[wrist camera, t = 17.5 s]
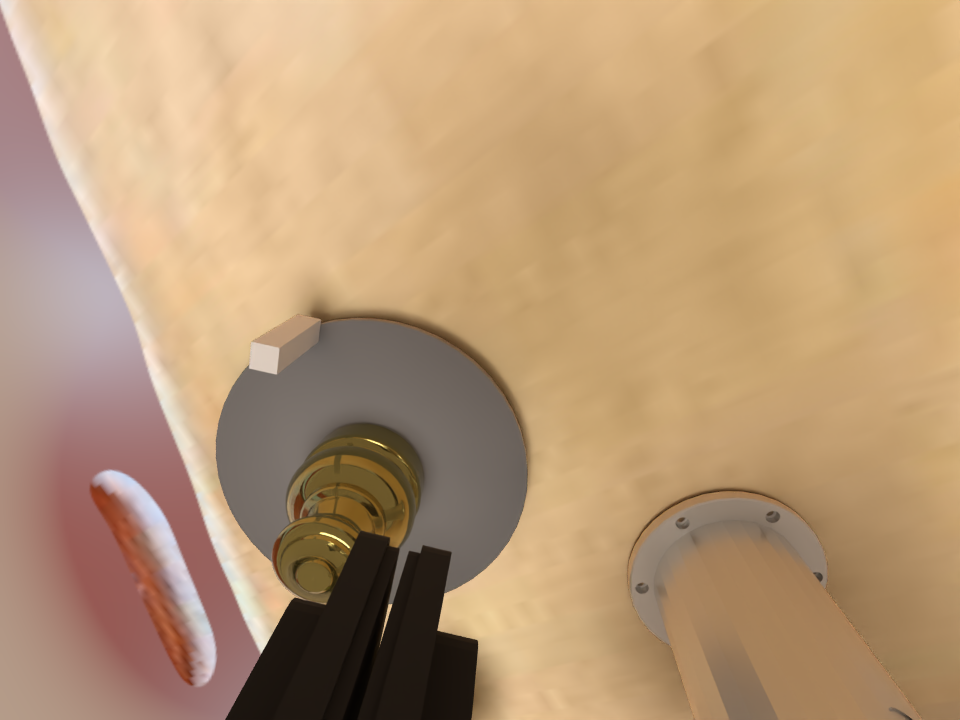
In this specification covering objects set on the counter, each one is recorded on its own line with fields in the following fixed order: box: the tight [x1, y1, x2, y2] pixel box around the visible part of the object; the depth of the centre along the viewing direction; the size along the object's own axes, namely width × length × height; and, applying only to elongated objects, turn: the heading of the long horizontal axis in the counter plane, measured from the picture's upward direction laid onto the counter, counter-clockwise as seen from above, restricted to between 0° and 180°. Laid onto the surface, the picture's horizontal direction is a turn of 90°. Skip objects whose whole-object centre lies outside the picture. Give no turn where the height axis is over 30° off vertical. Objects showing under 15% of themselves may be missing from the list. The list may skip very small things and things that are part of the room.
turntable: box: [216, 314, 527, 604], centre depth 34 cm, size 20×20×7 cm
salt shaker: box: [271, 424, 424, 605], centre depth 31 cm, size 7×7×10 cm
